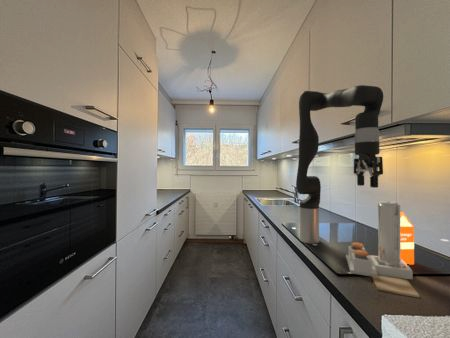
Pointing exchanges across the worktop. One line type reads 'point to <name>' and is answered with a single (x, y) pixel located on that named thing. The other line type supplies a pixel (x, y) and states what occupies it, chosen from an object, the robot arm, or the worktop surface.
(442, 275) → the worktop surface
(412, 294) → the mat
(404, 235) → the orange juice
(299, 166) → the robot arm
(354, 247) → the plunger
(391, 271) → the housing
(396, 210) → the silver metal cylinder
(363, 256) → the plunger
